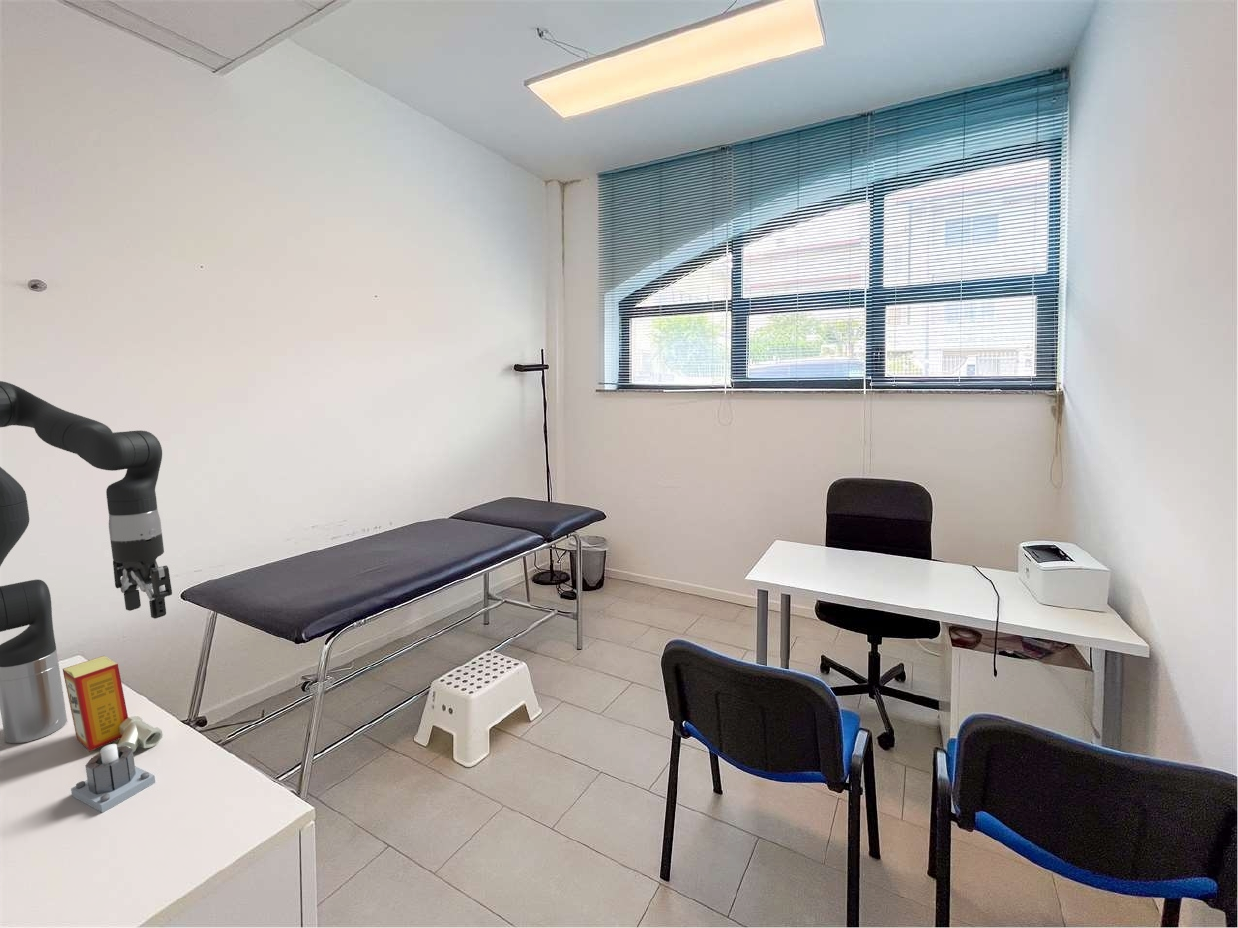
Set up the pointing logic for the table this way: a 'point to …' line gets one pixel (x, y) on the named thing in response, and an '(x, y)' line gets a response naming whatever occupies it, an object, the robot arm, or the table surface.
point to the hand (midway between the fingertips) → (146, 612)
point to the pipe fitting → (138, 734)
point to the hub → (110, 771)
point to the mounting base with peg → (116, 796)
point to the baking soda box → (96, 701)
